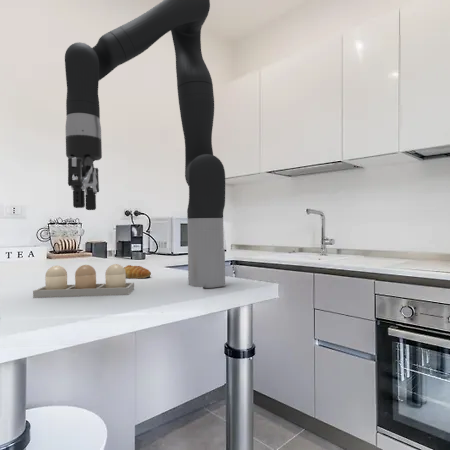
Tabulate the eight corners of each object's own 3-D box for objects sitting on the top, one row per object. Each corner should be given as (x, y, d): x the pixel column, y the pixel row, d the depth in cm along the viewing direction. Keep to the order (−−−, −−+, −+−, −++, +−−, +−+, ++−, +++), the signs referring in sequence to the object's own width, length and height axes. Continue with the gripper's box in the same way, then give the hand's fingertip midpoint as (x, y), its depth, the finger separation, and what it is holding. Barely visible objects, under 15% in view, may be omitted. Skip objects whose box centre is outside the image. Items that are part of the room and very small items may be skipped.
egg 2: (98, 290, 80) (97, 263, 80) (93, 294, 76) (92, 265, 76) (78, 291, 80) (78, 264, 80) (72, 295, 75) (72, 266, 76)
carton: (134, 291, 82) (134, 282, 82) (128, 296, 75) (128, 287, 75) (47, 293, 81) (46, 285, 81) (33, 300, 74) (33, 290, 74)
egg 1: (70, 292, 80) (69, 264, 80) (63, 295, 75) (62, 266, 76) (50, 292, 79) (50, 264, 79) (42, 296, 75) (41, 267, 75)
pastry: (156, 277, 107) (156, 265, 107) (140, 280, 101) (140, 267, 101) (134, 275, 112) (134, 264, 112) (118, 278, 106) (118, 266, 106)
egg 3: (127, 290, 81) (127, 262, 81) (123, 293, 77) (123, 264, 77) (108, 290, 81) (107, 263, 81) (103, 294, 76) (103, 265, 76)
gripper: (91, 128, 71) (93, 206, 71) (108, 145, 86) (109, 210, 86) (54, 128, 71) (55, 207, 71) (77, 145, 85) (78, 210, 85)
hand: (85, 208), depth 78 cm, fingers open, 8 cm apart
